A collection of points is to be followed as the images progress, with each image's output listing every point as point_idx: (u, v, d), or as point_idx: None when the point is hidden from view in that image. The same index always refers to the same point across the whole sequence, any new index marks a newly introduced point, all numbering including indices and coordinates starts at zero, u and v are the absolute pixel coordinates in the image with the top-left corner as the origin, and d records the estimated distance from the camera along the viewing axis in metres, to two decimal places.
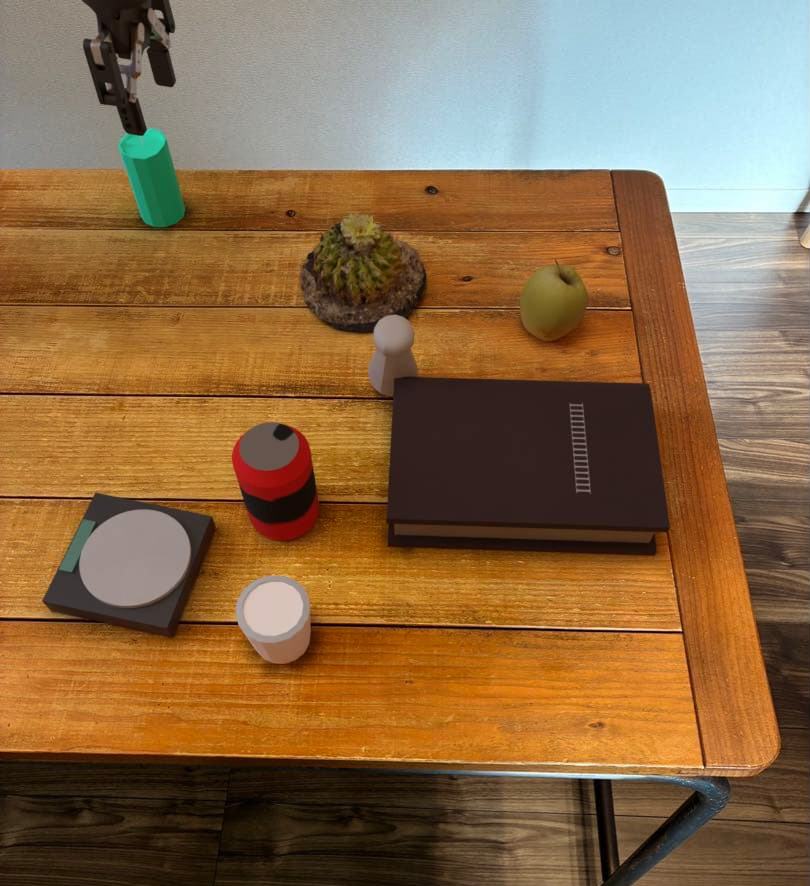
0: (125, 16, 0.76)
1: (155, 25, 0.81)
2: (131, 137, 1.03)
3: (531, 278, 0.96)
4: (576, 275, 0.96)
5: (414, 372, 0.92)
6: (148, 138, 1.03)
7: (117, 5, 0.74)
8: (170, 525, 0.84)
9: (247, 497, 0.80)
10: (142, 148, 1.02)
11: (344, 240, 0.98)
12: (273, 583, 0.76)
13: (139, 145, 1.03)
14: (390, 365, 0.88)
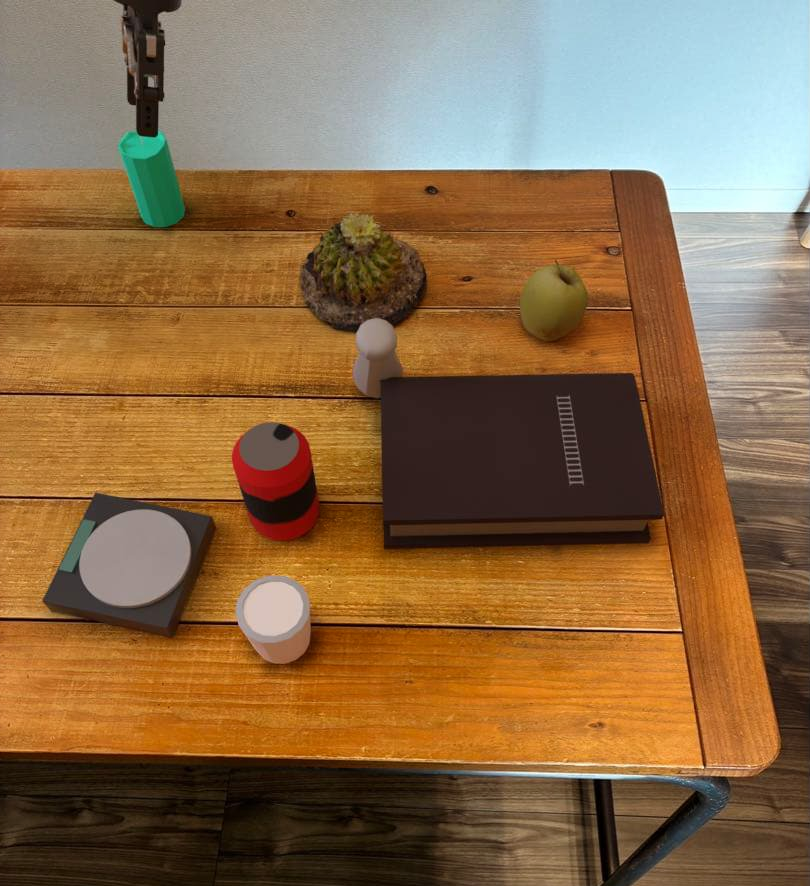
0: None
1: None
2: (131, 137, 1.03)
3: (531, 278, 0.96)
4: (576, 275, 0.96)
5: (399, 373, 0.92)
6: (147, 138, 1.03)
7: (162, 6, 0.81)
8: (170, 525, 0.84)
9: (247, 497, 0.80)
10: (142, 148, 1.02)
11: (344, 240, 0.98)
12: (273, 583, 0.76)
13: (139, 145, 1.03)
14: (374, 368, 0.87)
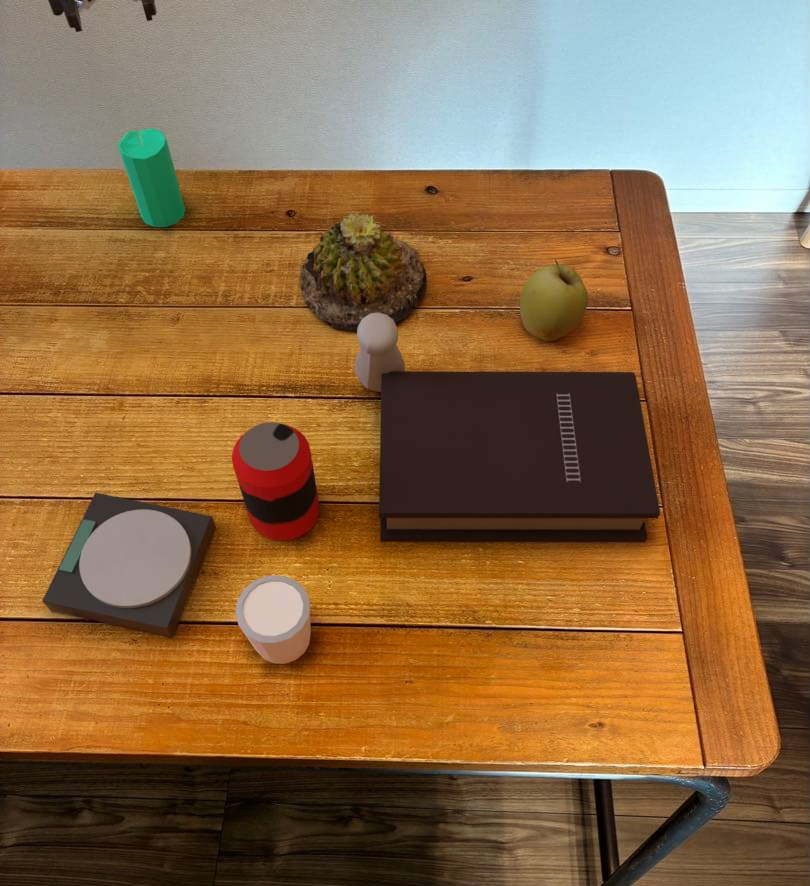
0: None
1: None
2: (131, 137, 1.03)
3: (531, 278, 0.96)
4: (576, 275, 0.96)
5: (400, 367, 0.92)
6: (147, 138, 1.03)
7: None
8: (170, 525, 0.84)
9: (247, 497, 0.80)
10: (142, 148, 1.02)
11: (344, 240, 0.98)
12: (273, 583, 0.76)
13: (139, 145, 1.03)
14: (375, 362, 0.88)
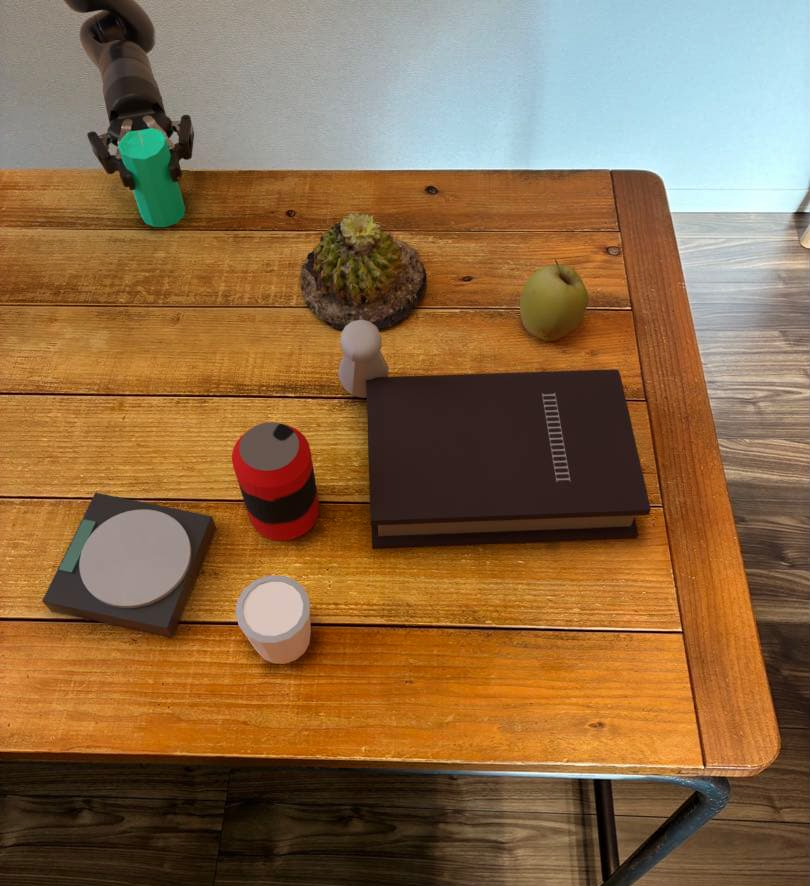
0: None
1: None
2: (131, 137, 1.03)
3: (531, 278, 0.96)
4: (576, 275, 0.96)
5: (384, 372, 0.92)
6: (147, 138, 1.03)
7: None
8: (170, 525, 0.84)
9: (247, 497, 0.80)
10: (142, 148, 1.02)
11: (344, 240, 0.98)
12: (273, 583, 0.76)
13: (139, 145, 1.03)
14: (359, 369, 0.87)
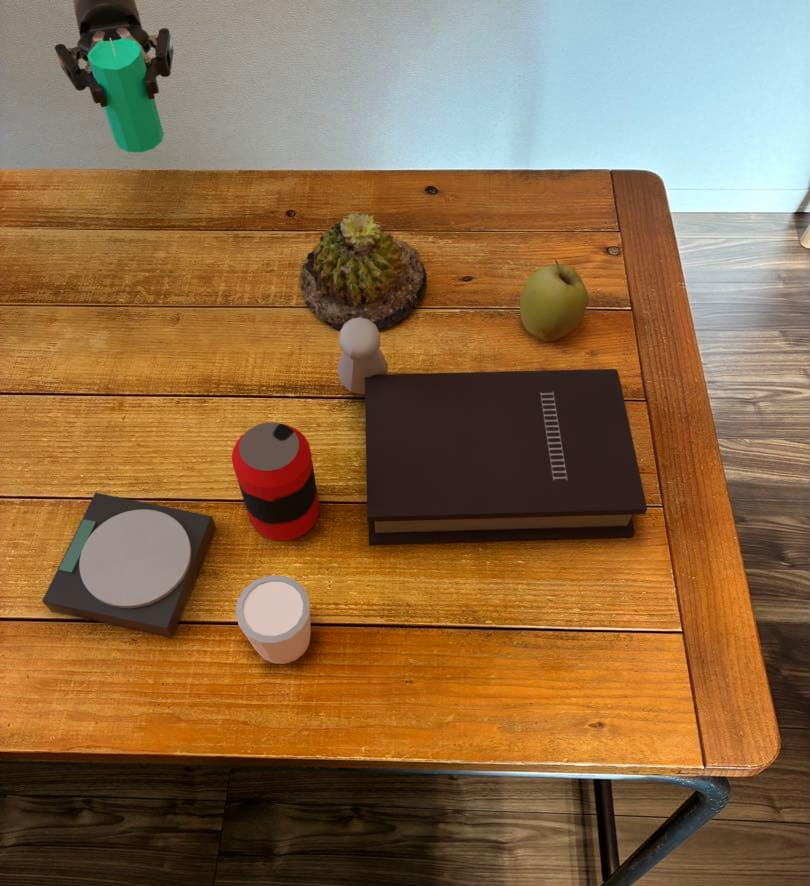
0: None
1: None
2: (103, 48, 0.93)
3: (531, 278, 0.96)
4: (576, 275, 0.96)
5: (383, 369, 0.92)
6: (121, 49, 0.93)
7: None
8: (170, 525, 0.84)
9: (247, 497, 0.80)
10: (115, 59, 0.92)
11: (344, 240, 0.98)
12: (273, 583, 0.76)
13: (111, 56, 0.93)
14: (358, 366, 0.88)
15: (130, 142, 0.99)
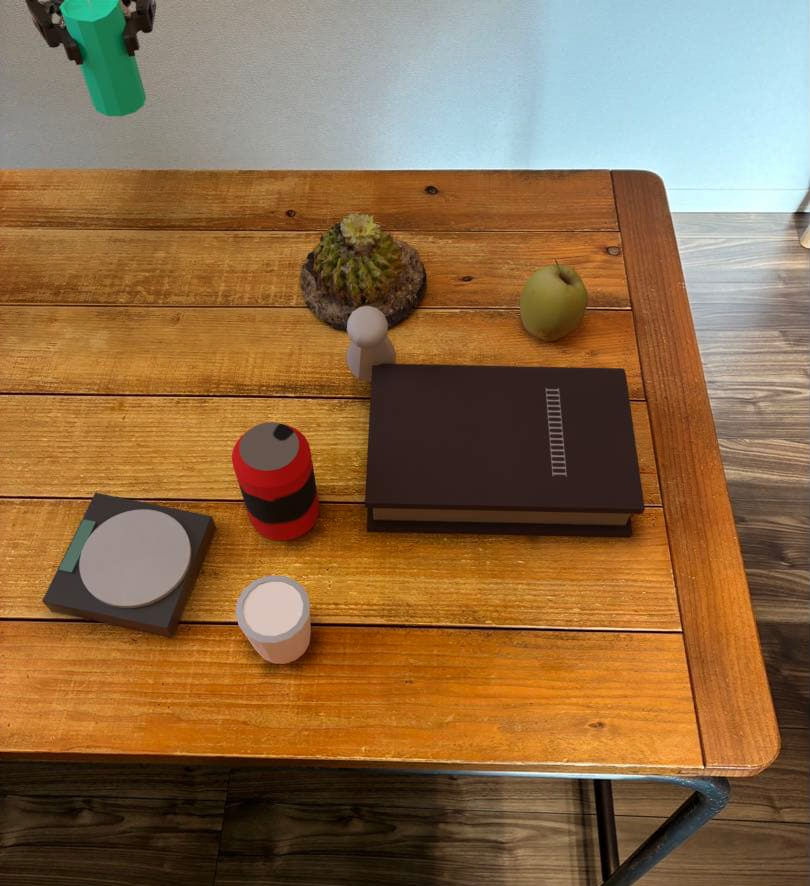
0: None
1: None
2: None
3: (531, 278, 0.96)
4: (576, 275, 0.96)
5: (391, 359, 0.92)
6: (97, 0, 0.85)
7: None
8: (170, 525, 0.84)
9: (247, 497, 0.80)
10: (90, 10, 0.84)
11: (344, 240, 0.98)
12: (273, 583, 0.76)
13: (86, 7, 0.84)
14: (366, 354, 0.88)
15: (109, 105, 0.91)
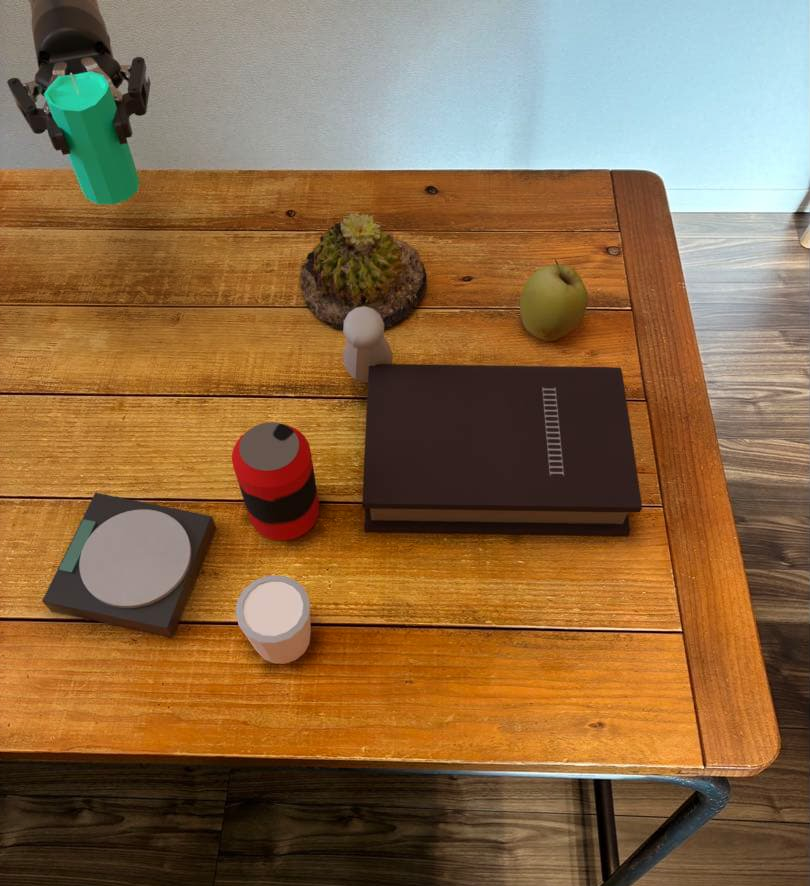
0: None
1: None
2: (63, 84, 0.78)
3: (531, 278, 0.96)
4: (576, 275, 0.96)
5: (388, 359, 0.92)
6: (85, 85, 0.78)
7: None
8: (170, 525, 0.84)
9: (247, 497, 0.80)
10: (77, 97, 0.77)
11: (344, 240, 0.98)
12: (273, 583, 0.76)
13: (73, 93, 0.77)
14: (362, 355, 0.88)
15: (99, 193, 0.83)
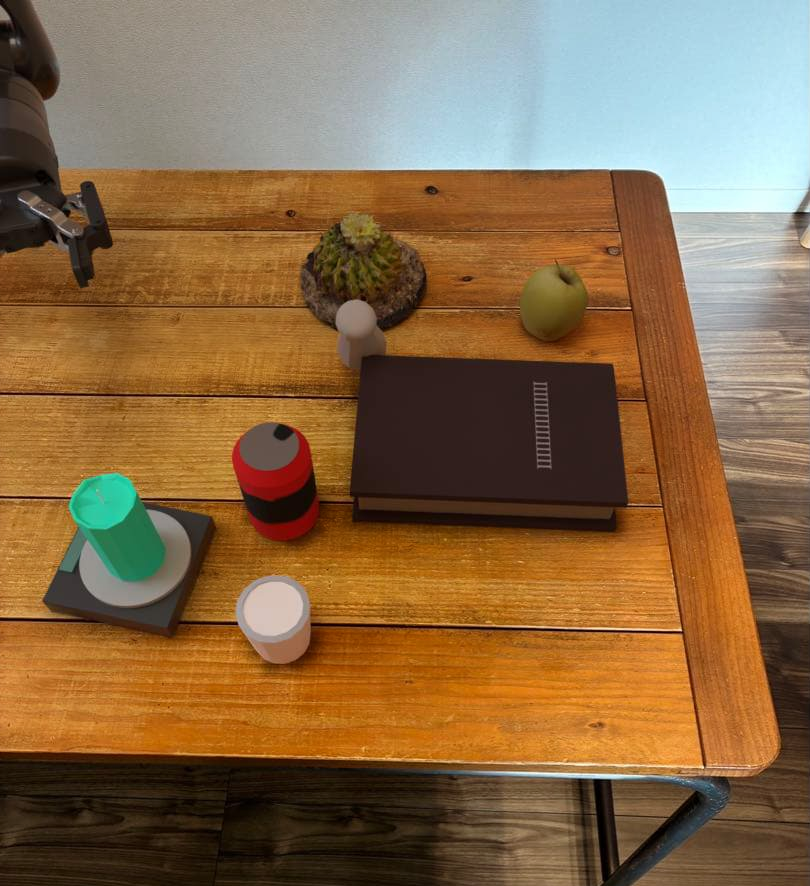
0: None
1: None
2: (89, 488, 0.74)
3: (531, 278, 0.96)
4: (576, 275, 0.96)
5: (381, 349, 0.93)
6: (111, 489, 0.74)
7: None
8: (170, 525, 0.84)
9: (247, 497, 0.80)
10: (103, 507, 0.73)
11: (344, 240, 0.98)
12: (273, 583, 0.76)
13: (99, 502, 0.73)
14: (355, 346, 0.89)
15: (124, 575, 0.79)
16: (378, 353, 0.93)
